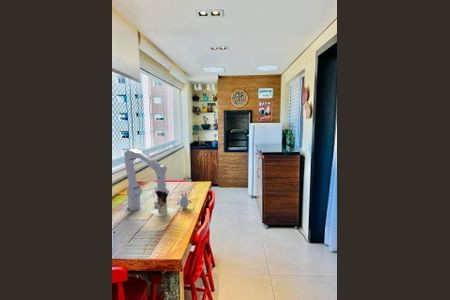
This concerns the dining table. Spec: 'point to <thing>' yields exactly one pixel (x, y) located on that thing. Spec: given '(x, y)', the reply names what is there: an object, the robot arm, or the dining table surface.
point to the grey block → (156, 204)
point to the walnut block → (161, 201)
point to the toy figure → (184, 202)
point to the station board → (169, 210)
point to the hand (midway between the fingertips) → (162, 201)
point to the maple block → (162, 208)
